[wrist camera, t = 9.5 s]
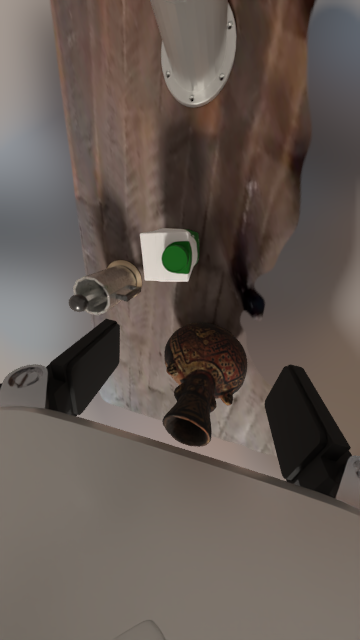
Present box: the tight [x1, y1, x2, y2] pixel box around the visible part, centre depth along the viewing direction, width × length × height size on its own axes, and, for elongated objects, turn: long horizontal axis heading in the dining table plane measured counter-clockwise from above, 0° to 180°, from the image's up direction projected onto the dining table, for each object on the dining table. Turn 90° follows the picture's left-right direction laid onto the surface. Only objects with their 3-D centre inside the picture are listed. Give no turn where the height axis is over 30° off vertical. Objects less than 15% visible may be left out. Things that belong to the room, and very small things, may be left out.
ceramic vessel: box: [163, 323, 247, 447], centre depth 42 cm, size 21×18×30 cm
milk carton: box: [140, 228, 199, 282], centre depth 37 cm, size 9×9×20 cm
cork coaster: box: [107, 260, 142, 297], centre depth 52 cm, size 11×11×1 cm
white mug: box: [73, 265, 141, 315], centre depth 46 cm, size 8×11×14 cm
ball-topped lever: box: [69, 289, 105, 312], centre depth 41 cm, size 6×6×15 cm
